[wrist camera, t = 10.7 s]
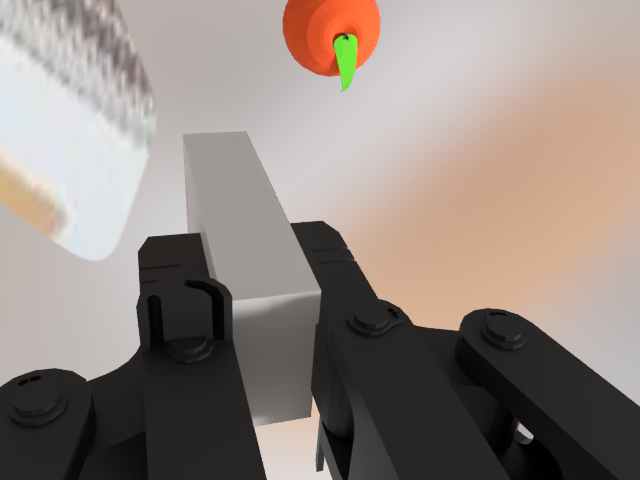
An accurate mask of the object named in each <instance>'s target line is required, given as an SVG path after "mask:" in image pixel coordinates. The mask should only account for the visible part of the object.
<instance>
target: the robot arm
mask: <svg viewBox="0 0 640 480" xmlns="http://www.w3.org/2000/svg"><path fill="white" fill-rule="evenodd" d="M183 148H184V168H185V185H186V204H187V222H188V234H177V235H165V236H152V237H148V238H147V239H146V241H145V242H144V244H143V245H142V247H141V248H140V250H139V251H138V261H139V262H138V263H139V282H140V296H139V299H138V303H137V306H136V309H137V318H138V327H139V335H140V344H141V345H140V346H139V348H138V350H137V352H136V353H135V354H134V356H133V357H132V358H131V359H130V360H129V361H128V362H126V363H125V364H124V365H122V366H121V367H119V368H118V369H116V370H114V371H112V372H110V373H107V374H106V375H103V376H100V377H98V378H95V379H92V380H90V381H86V379H85V378H83V377H81V376H80V375H78V374H76V373H74V372H73V371H68V370H62V369H56V368H54V369H44V370H35V371H32V372H29V373H26V374H24V375H21V376H18V377H15V378H13V379H12V380H11V381H9V382H7V383H6V384H4V385H2V386H1V387H0V480H267V478H266V474H265V470H264V466H263V462H262V458H261V454H260V450H259V446H258V442H257V438H256V433H255V429H254V427H255V426H260V425H266V424H272V423H278V422H284V421H289V420H295V419H301V418H307V417H311V409H312V397H314V400H315V402H316V405H317V408H318V411H319V413H320V420H319V430H318V441H317V452H316V470H317V472H318V471H323V465H324V456H325V459H326V462H327V465H328V468H329V470H330V474H331V476H332V479H333V480H640V407H639V406H638V405H637V404H636V403H635V402H633V401H632V400H631V399H629V398H628V397H627V396H626V395H624V394H623V393H622V392H620V391H619V390H618V389H617V388H615V387H614V386H613V385H611V384H610V383H609V382H607V381H606V380H605V379H603V378H602V377H601V376H600V375H598V374H597V373H596V372H594V371H593V370H592V369H591V368H589V367H588V366H587V365H586V364H584V363H583V362H582V361H580V360H579V359H578V358H577V357H575V356H574V355H573V354H571V353H570V352H569V351H567V350H566V349H565V348H564V347H562V346H561V345H560V344H558V343H557V342H556V341H555V340H553V339H552V338H551V337H550V336H548V335H547V334H546V333H544V332H543V331H542V330H541V329H539V328H538V327H537V326H535V325H534V324H533V323H531V322H530V321H528V320H526V319H525V318H523V317H521V316H519V315H518V314H514V313H511V312H508V311H505V310H501V309H490V308H486V309H480V310H474V311H472V312H471V313H469V314H467V315H466V316H464V318H463V320H462V322H461V324H460V328H459V331H453V330H443V329H434V328H426V327H420V326H416V325H413V323H412V322H411V320H410V319H409V317H408V316H407V315H406V314H405V313H404V312H403V311H402V310H401V309H400V308H399V307H397V306H395V305H393V304H391V303H390V302H388V301H385V300H381V299H378V297H377V296H376V294H375V292H374V291H373V289H372V287H371V286H370V284H369V282H368V281H367V279H366V277H365V276H364V274H363V272H362V271H361V269H360V267H359V265H358V264H357V262H356V261H354V257H353V255H352V254H351V252H350V250H349V249H347V245H346V244H345V242H344V240H343V238H342V237H341V235H340V233H339V232H338V231H336V230H335V229H333V228H332V227H330V226H329V225H328V224H326V223H325V222H323V221H314V222H301V223H289V221H288V219H287V217H286V215H285V213H284V211H283V208H282V206H281V204H280V202H279V200H278V198H277V196H276V194H275V191H274V189H273V187H272V185H271V183H270V181H269V179H268V177H267V175H266V172H265V170H264V168H263V166H262V164H261V162H260V160H259V157H258V155H257V153H256V151H255V149H254V147H253V145H252V143H251V141H250V138H249V136H248V134H247V132H222V133H199V134H183ZM519 423H521V424H522V425H523V426H524V427H525V428H526V429H527V430H528V431H529V432H530V433H531V434H533V436H534V437H533V439H529V438H527V437H525V436H524V435H523V434H522V433H521V432H519V431H518V430H517V429H518V426H519Z"/></svg>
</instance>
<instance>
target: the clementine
mask: <svg viewBox="0 0 640 480" xmlns="http://www.w3.org/2000/svg"><path fill="white" fill-rule="evenodd" d="M283 33H284V37H285V40H286V44H287V47H288V49H289V51H290V52H291V54H292V56H293V57H294V59H295V60H296V61H297V62H298V63H299V64H300V65H301V66H303V67H304V68H306V69H308V70H310V71H312V72H314V73H316V74H318V75H324V76H328V77H330V76H341V80H342V88H343V90H342V91H344V90H346V89H347V88H348V87H349V85H350V84H351V81H352V78H353V75H354V71H355V69H357V68H358V67H360V66H361V65H363V64H364V62H365V61H366V60H367V59H368V58H369V57H370V56H371V54H372V52H373V51H374V49H375V47H376V44H377V41H378V38H379V33H380V15H379V10H378V7H377V4H376V2H375V0H289V1H288V3H287V5H286V7H285V12H284V16H283Z"/></svg>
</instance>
